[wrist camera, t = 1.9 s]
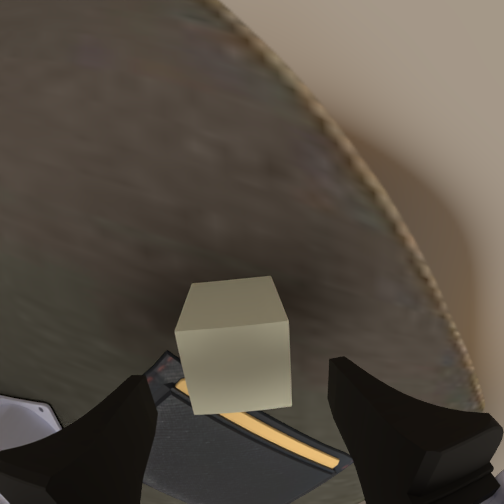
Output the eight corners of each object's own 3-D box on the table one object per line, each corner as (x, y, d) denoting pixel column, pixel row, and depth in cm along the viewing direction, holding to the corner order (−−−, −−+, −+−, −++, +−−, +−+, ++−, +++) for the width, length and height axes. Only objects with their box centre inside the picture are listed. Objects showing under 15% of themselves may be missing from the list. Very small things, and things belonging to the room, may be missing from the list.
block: (203, 351, 19) (194, 414, 13) (191, 283, 18) (174, 331, 12) (275, 344, 19) (291, 405, 13) (270, 275, 18) (288, 320, 12)
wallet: (72, 451, 19) (168, 353, 17) (79, 437, 21) (174, 338, 19) (246, 533, 23) (364, 469, 21) (246, 520, 25) (358, 455, 23)
